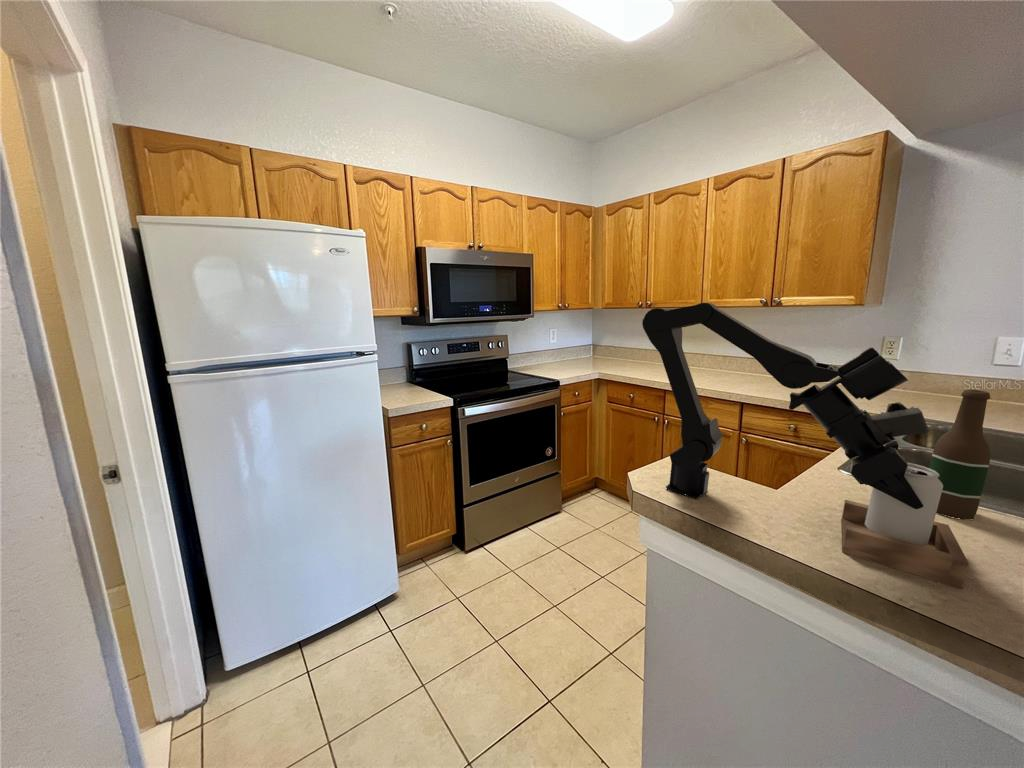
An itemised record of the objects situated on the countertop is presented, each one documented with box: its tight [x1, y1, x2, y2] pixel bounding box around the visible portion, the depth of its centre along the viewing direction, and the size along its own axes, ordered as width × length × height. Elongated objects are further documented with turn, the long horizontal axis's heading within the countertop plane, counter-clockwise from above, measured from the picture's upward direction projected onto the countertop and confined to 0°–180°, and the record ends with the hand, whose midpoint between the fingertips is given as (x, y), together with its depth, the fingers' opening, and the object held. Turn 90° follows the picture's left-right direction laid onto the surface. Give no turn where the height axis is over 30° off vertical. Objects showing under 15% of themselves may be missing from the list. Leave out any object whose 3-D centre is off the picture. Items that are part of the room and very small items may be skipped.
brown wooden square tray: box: [840, 499, 970, 589], centre depth 64 cm, size 13×13×4 cm
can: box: [865, 462, 943, 546], centre depth 63 cm, size 8×8×12 cm
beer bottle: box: [928, 389, 991, 520], centre depth 76 cm, size 8×8×24 cm
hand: (915, 498), depth 62 cm, fingers closed on can, 7 cm apart
